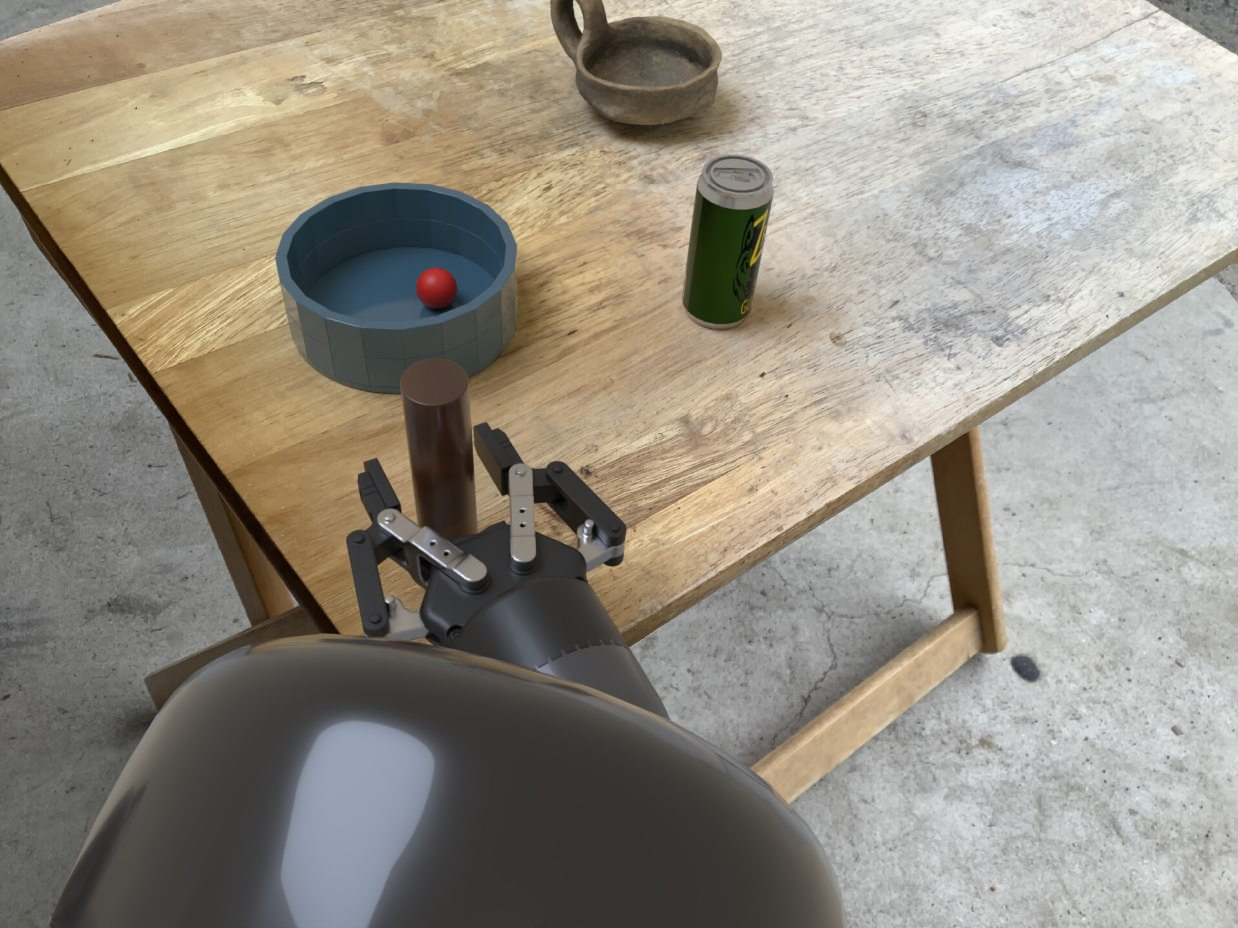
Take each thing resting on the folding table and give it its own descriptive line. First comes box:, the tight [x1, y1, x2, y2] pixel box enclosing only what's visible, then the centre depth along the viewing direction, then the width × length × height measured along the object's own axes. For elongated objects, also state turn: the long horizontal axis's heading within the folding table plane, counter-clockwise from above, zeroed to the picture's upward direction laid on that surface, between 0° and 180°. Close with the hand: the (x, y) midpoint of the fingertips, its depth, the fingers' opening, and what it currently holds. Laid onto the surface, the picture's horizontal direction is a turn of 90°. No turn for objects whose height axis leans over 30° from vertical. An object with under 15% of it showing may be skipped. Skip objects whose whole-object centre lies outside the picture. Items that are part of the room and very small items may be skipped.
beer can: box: [681, 153, 775, 330], centre depth 79 cm, size 5×5×12 cm
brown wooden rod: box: [400, 359, 479, 541], centre depth 58 cm, size 3×3×18 cm
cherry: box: [416, 268, 457, 309], centre depth 80 cm, size 3×3×3 cm
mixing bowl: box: [274, 181, 519, 395], centre depth 79 cm, size 17×17×6 cm
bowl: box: [549, 0, 723, 126], centre depth 99 cm, size 14×18×10 cm
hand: (426, 452), depth 58 cm, fingers open, 5 cm apart
